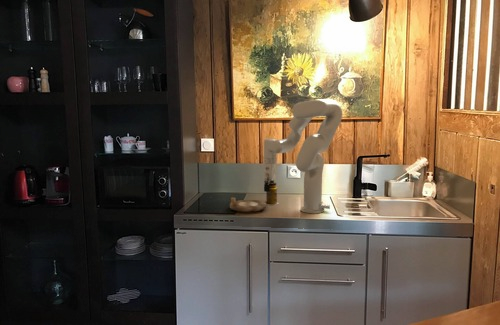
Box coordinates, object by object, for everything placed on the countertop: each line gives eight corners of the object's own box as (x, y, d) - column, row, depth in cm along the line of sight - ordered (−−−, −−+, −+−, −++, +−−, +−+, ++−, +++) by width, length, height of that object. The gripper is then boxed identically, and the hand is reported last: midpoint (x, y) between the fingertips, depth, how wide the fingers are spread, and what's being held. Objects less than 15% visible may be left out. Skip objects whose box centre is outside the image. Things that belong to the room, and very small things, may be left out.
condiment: (279, 203, 241) (280, 183, 239) (268, 205, 236) (268, 184, 235) (272, 201, 247) (272, 181, 245) (260, 203, 242) (260, 182, 241)
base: (261, 207, 232) (261, 205, 232) (255, 213, 221) (255, 210, 220) (241, 206, 235) (241, 204, 235) (234, 211, 224) (234, 209, 224)
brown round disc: (258, 201, 241) (257, 191, 240) (272, 209, 222) (272, 198, 221) (224, 204, 233) (224, 194, 233) (237, 213, 215) (236, 202, 214)
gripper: (272, 163, 229) (271, 193, 232) (279, 158, 245) (279, 187, 248) (259, 162, 231) (258, 192, 234) (267, 158, 248) (266, 186, 250)
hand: (269, 189), depth 241 cm, fingers open, 9 cm apart
